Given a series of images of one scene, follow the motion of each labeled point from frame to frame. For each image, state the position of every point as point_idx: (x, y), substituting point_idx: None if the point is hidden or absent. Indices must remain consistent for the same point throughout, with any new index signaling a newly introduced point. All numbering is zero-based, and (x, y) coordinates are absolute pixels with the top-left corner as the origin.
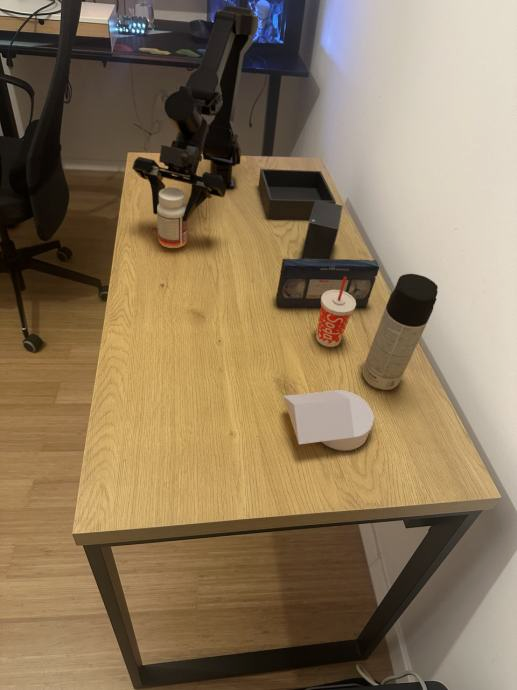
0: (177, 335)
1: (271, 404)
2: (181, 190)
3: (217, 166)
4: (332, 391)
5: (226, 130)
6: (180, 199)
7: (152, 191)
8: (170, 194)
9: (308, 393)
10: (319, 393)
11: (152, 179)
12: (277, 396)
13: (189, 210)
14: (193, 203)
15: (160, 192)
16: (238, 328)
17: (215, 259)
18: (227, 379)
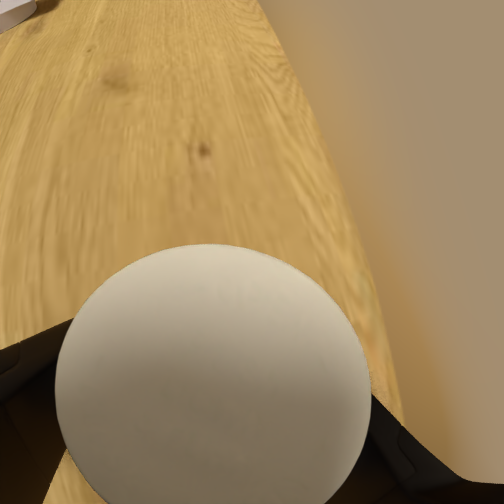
0: (160, 45)
1: (59, 12)
2: (109, 499)
3: None
4: (2, 10)
5: None
6: (88, 298)
7: (418, 444)
8: (225, 383)
9: (24, 2)
10: (15, 2)
11: (490, 494)
12: (48, 19)
13: (56, 326)
14: (5, 348)
15: (356, 390)
16: (49, 77)
17: (44, 307)
18: (97, 16)
